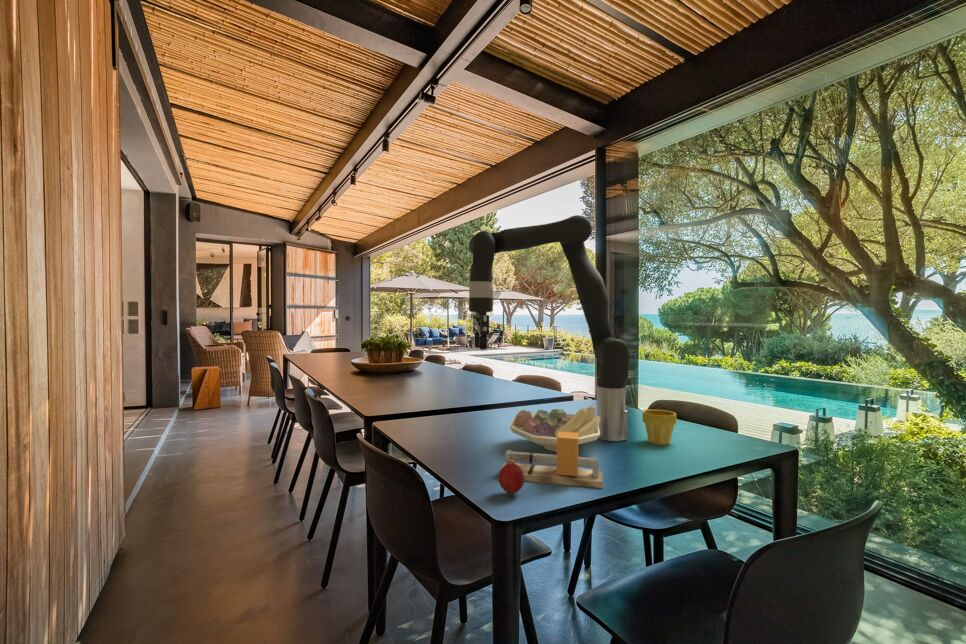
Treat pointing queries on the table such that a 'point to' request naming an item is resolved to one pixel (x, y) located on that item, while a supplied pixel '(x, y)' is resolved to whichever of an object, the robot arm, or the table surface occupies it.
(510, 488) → the onion
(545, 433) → the dish with food
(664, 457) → the table surface
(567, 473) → the upright wooden block
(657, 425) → the plant pot
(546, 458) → the pipe
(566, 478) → the board
